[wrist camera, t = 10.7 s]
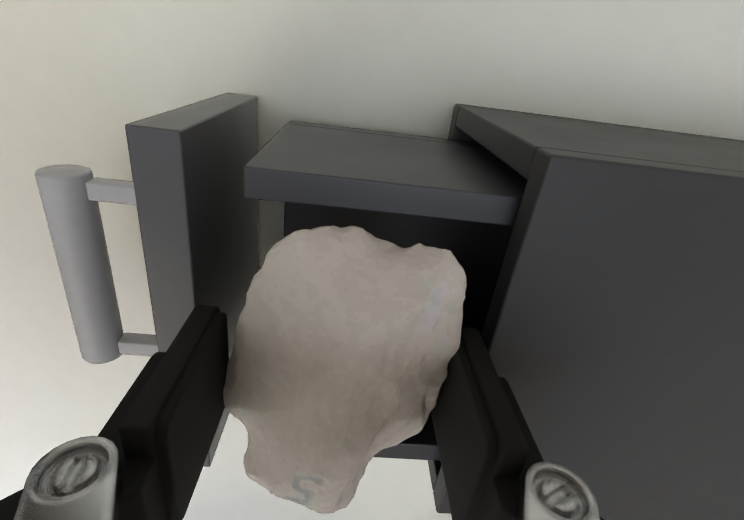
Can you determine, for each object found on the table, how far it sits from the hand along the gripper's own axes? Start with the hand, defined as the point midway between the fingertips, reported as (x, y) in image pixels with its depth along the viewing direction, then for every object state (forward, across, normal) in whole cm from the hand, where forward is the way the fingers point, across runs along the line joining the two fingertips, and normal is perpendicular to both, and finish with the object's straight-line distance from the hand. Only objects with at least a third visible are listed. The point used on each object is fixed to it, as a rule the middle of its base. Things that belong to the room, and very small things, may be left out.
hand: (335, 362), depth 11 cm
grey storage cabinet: (+9, -11, 0) cm, 15 cm away
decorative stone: (+1, 0, 0) cm, 1 cm away
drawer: (+8, 0, 0) cm, 8 cm away
